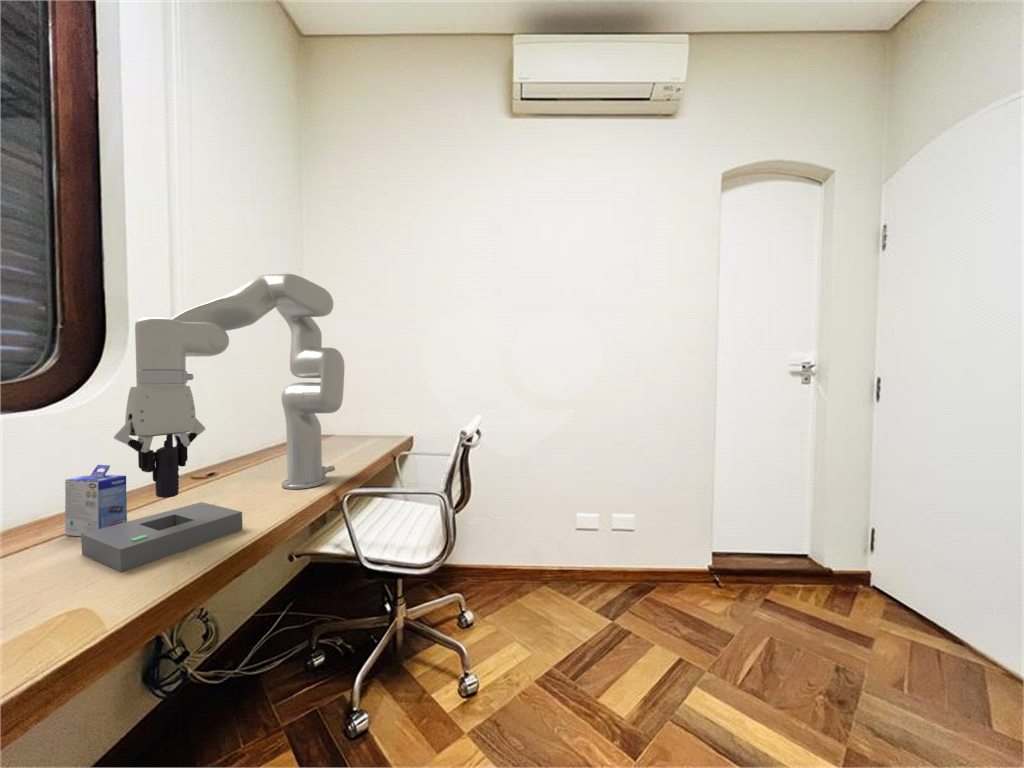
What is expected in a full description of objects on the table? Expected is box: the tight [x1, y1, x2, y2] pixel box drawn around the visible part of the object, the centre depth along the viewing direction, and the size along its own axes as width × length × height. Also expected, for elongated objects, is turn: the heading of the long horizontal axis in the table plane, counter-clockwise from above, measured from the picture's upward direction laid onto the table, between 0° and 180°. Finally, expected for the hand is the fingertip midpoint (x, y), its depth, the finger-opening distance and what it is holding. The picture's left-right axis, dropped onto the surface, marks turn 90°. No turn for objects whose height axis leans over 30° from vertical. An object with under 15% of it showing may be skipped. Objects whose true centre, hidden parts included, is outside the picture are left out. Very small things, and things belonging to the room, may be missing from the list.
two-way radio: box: [150, 434, 180, 499], centre depth 79 cm, size 6×4×15 cm
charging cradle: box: [80, 501, 244, 573], centre depth 80 cm, size 20×16×4 cm
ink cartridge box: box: [64, 464, 128, 537], centre depth 85 cm, size 10×6×14 cm, turn 78°
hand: (164, 467), depth 79 cm, fingers closed on two-way radio, 4 cm apart
